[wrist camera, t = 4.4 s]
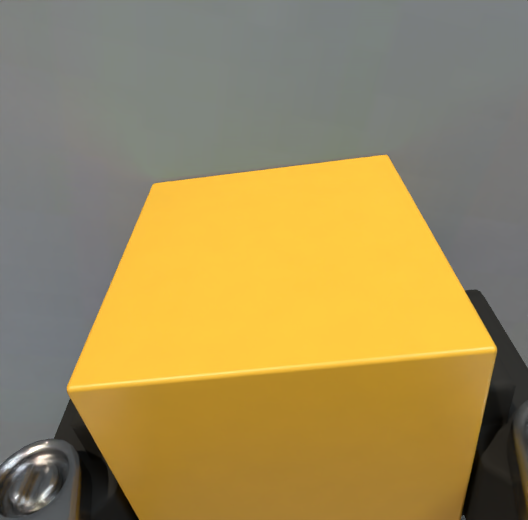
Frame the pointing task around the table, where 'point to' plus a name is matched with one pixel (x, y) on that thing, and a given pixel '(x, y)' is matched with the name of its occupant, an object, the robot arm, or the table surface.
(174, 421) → the block
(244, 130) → the table surface
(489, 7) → the table surface
